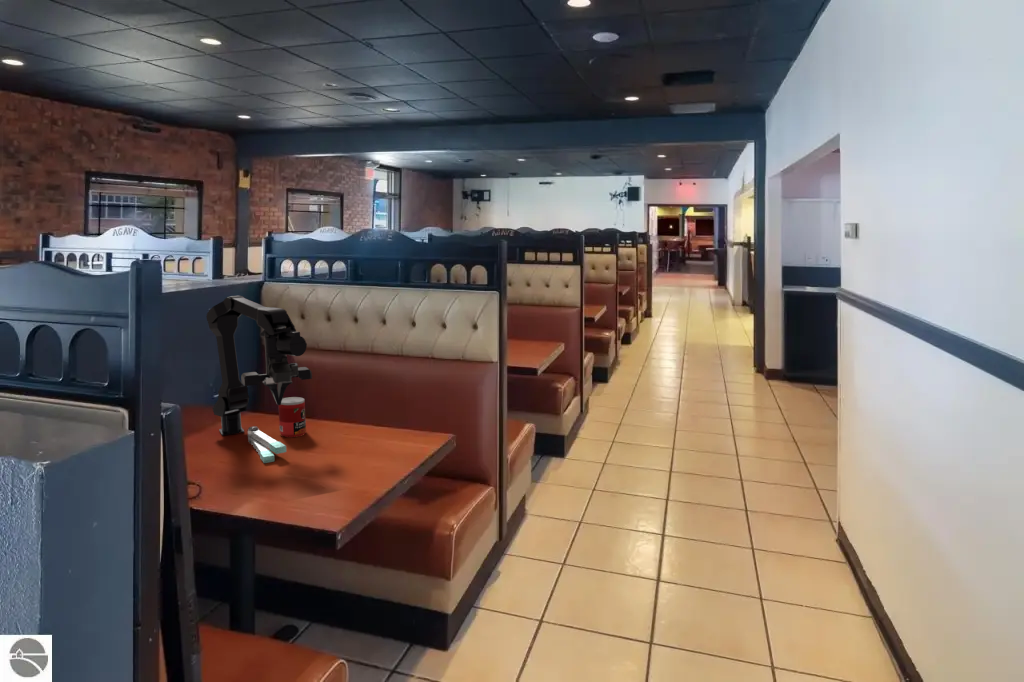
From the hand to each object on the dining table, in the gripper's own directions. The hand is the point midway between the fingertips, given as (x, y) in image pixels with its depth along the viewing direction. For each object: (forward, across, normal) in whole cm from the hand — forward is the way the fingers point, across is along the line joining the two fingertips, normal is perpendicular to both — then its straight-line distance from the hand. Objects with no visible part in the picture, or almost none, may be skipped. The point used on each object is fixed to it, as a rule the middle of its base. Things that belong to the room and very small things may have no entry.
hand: (278, 404), depth 188 cm
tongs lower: (+12, -6, -2) cm, 14 cm away
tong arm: (+10, -4, -2) cm, 11 cm away
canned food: (+13, +6, +10) cm, 17 cm away
